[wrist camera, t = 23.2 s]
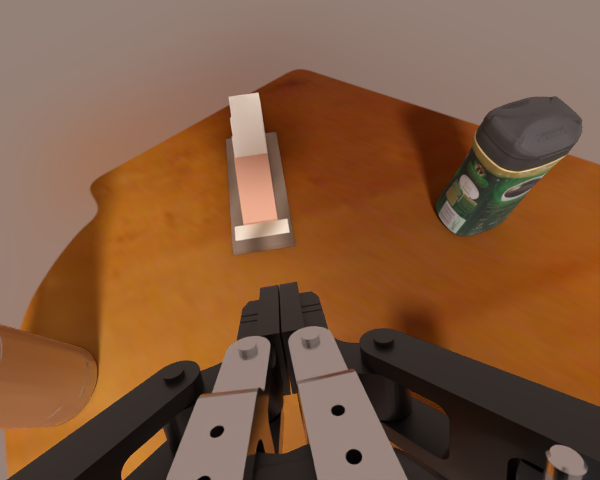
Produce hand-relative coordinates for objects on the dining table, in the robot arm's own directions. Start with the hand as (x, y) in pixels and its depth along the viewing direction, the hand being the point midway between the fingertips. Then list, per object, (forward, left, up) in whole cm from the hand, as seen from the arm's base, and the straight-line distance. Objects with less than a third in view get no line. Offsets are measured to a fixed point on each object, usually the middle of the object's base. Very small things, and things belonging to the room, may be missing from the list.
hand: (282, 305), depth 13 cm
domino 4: (-3, +22, -28) cm, 36 cm away
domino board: (-3, +29, -30) cm, 42 cm away
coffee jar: (+28, +19, -30) cm, 45 cm away
